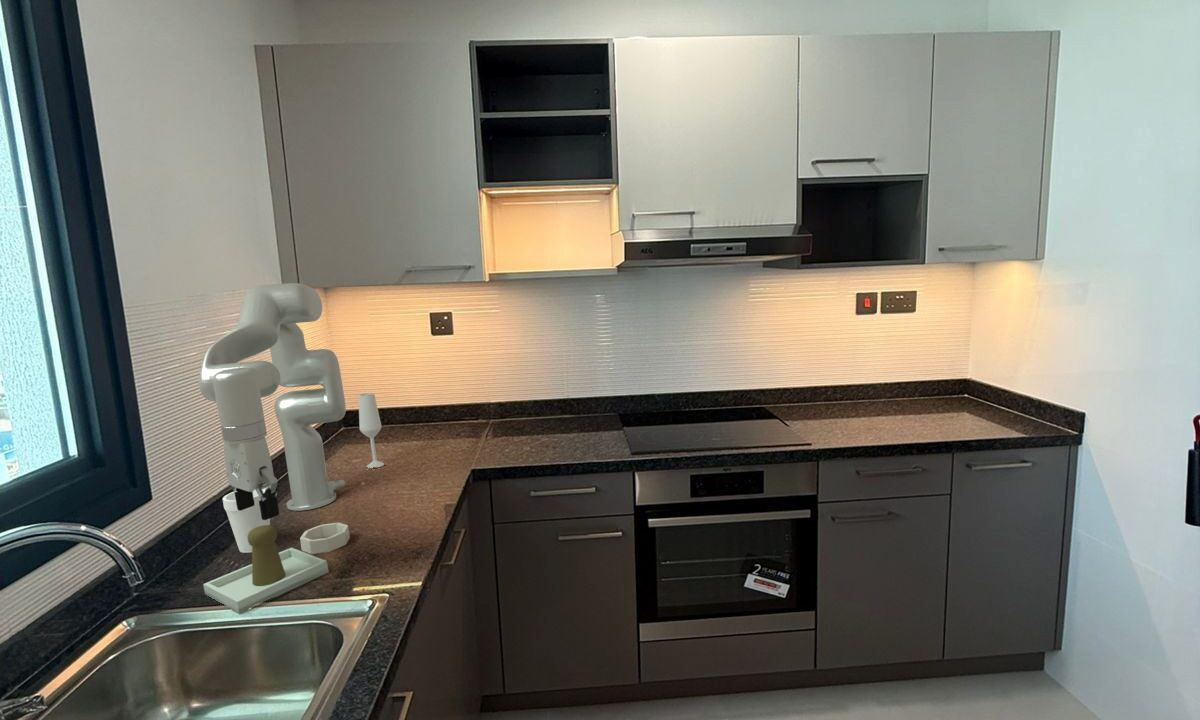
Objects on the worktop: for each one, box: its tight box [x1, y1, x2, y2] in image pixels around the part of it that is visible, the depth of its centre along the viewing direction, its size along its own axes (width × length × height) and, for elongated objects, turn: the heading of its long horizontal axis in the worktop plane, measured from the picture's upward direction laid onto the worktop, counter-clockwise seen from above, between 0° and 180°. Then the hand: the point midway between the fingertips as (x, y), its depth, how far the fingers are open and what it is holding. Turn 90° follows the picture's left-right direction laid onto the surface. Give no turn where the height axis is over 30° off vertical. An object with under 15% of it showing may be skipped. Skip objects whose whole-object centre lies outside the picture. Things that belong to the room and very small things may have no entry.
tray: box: [203, 547, 329, 615], centre depth 127 cm, size 18×14×2 cm
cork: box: [248, 524, 285, 586], centre depth 126 cm, size 6×6×11 cm
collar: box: [299, 522, 351, 555], centre depth 145 cm, size 10×10×3 cm
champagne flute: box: [358, 392, 385, 468], centre depth 202 cm, size 7×7×24 cm
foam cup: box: [222, 487, 271, 554], centre depth 145 cm, size 10×9×13 cm
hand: (258, 512), depth 126 cm, fingers open, 9 cm apart
